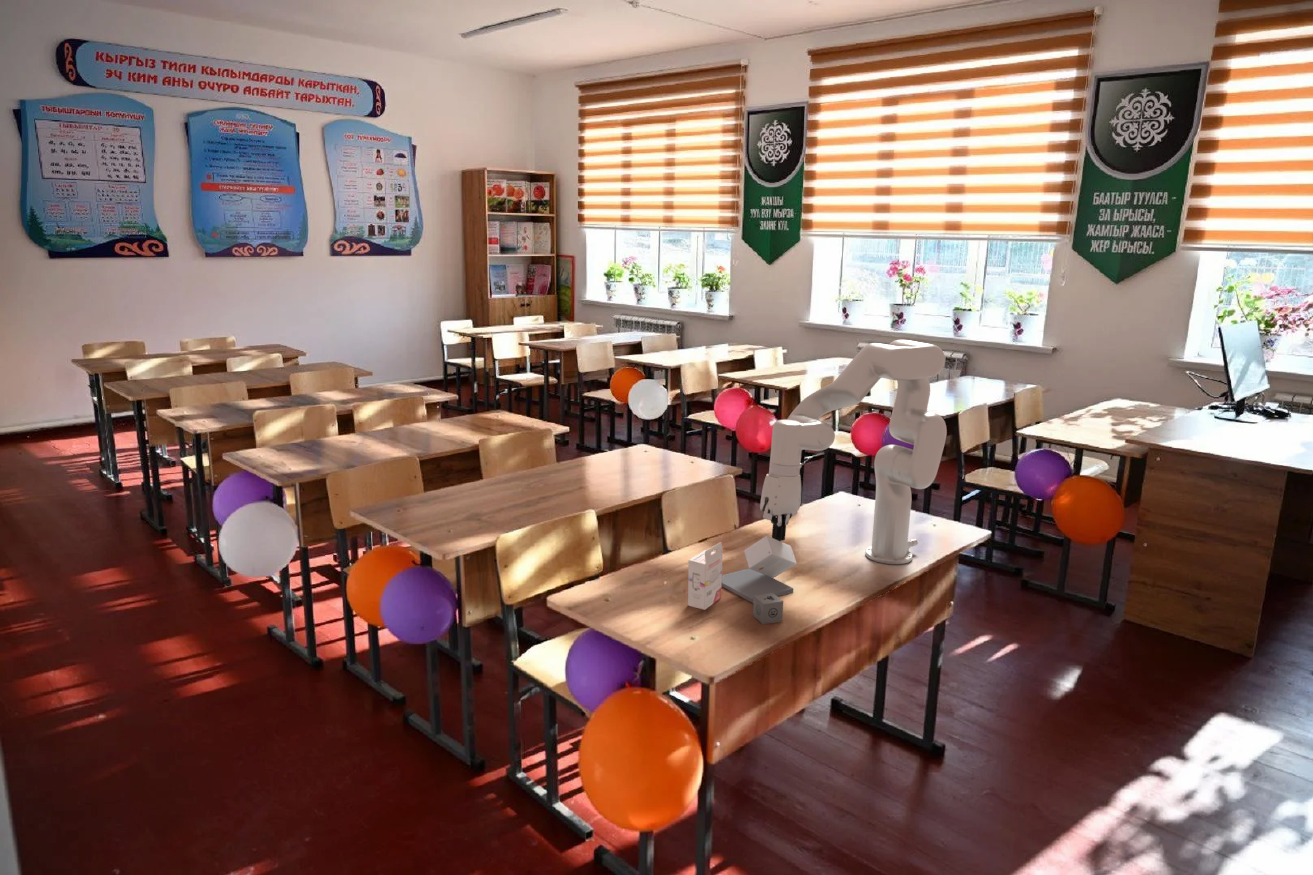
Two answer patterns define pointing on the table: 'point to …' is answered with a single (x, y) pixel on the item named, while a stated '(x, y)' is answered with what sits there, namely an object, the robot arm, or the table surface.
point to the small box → (770, 557)
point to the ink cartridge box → (705, 578)
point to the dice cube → (768, 608)
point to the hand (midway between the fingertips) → (778, 539)
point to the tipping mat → (753, 584)
